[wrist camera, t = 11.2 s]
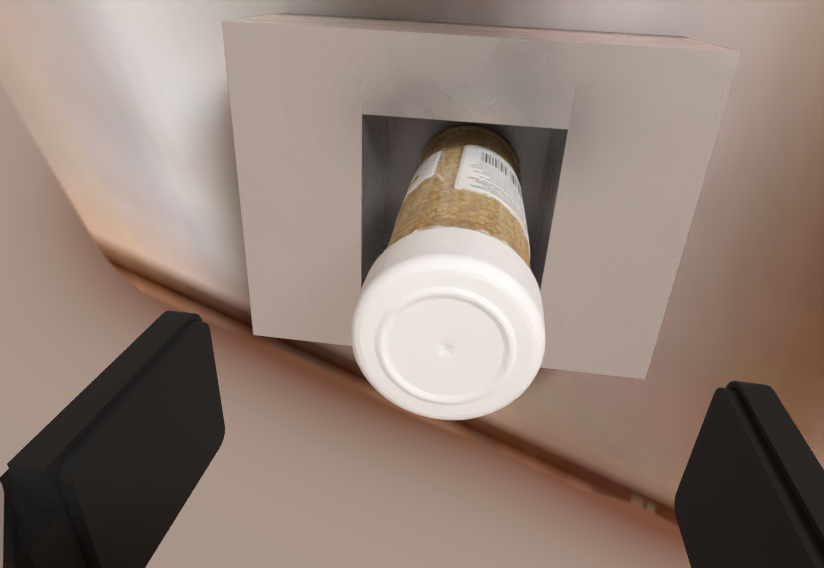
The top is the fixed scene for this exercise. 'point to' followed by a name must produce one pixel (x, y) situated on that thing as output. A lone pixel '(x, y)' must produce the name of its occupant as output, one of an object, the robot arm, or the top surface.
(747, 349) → the top surface
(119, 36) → the top surface
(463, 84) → the grey box with opening
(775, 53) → the top surface
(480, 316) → the sprinkles bottle
